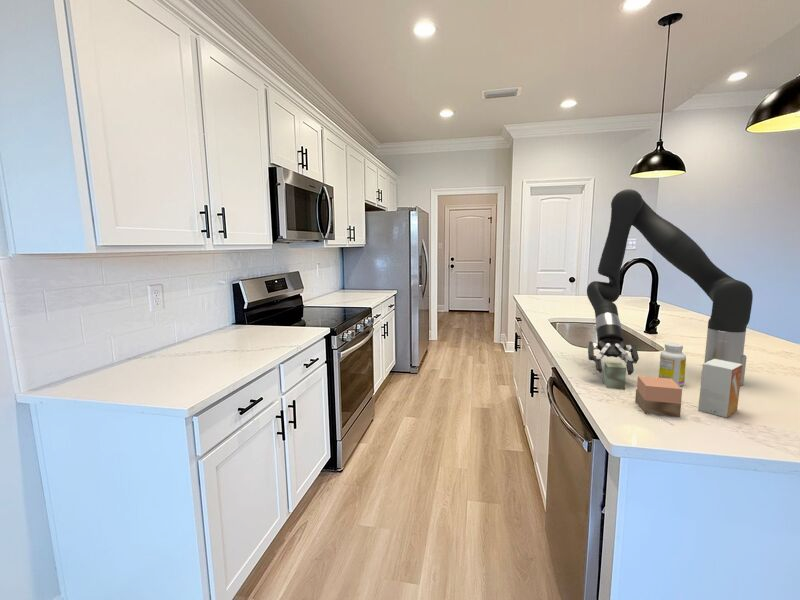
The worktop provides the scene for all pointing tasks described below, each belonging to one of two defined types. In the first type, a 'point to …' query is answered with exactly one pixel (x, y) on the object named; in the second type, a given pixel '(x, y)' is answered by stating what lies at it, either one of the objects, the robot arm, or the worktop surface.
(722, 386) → the small box
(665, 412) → the tower base block
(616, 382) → the green block
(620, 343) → the robot arm
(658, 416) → the butter knife
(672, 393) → the tower top block
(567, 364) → the worktop surface
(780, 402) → the worktop surface
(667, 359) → the supplement bottle
